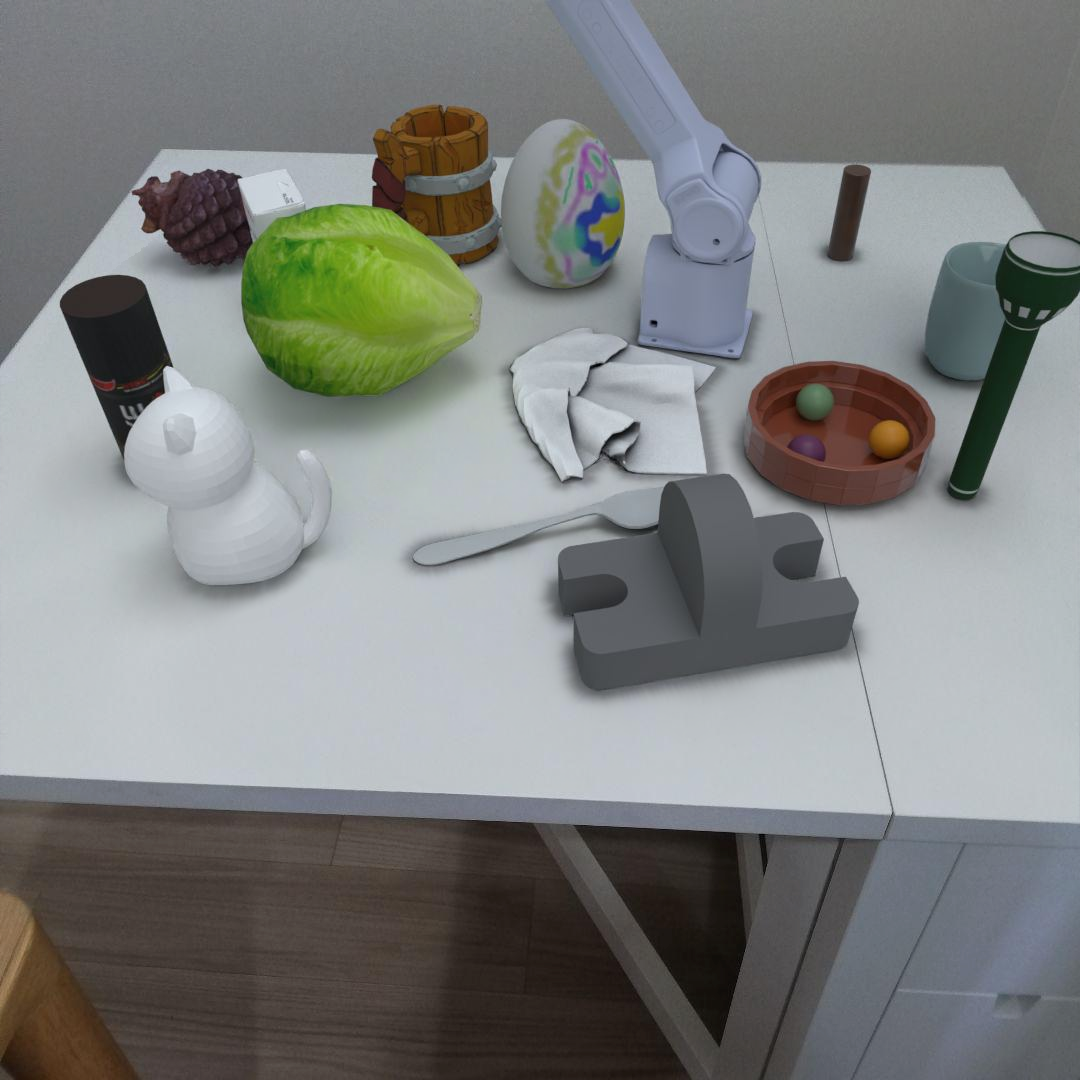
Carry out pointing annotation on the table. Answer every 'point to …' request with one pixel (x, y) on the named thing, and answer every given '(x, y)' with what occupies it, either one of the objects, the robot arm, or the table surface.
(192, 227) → the pine cone
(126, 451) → the cat figurine
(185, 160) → the table surface
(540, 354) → the cloth
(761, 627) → the bracket
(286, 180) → the ink box
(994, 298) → the cup
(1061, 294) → the flashlight
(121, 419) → the deodorant
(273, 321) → the lettuce
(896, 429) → the amber bead
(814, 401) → the sage bead
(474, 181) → the mug
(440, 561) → the spoon
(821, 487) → the bowl
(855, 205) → the stick
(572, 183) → the decorative egg
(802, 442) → the plum bead
